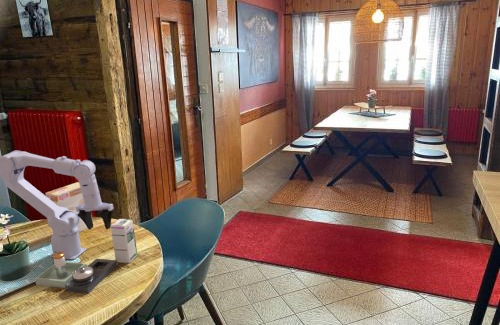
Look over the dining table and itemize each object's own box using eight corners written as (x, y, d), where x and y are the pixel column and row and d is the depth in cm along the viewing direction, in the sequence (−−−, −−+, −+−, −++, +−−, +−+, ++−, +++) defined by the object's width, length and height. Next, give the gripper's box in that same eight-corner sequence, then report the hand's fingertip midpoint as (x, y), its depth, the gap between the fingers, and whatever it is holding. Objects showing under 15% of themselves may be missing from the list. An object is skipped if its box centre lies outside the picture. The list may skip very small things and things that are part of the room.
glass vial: (54, 277, 127) (51, 256, 125) (61, 272, 130) (57, 251, 128) (62, 279, 127) (59, 257, 125) (69, 273, 130) (66, 252, 128)
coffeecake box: (83, 223, 172) (77, 181, 167) (94, 226, 168) (87, 184, 163) (52, 236, 159) (44, 192, 154) (63, 240, 156) (55, 195, 151)
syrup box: (130, 263, 136) (125, 225, 132) (115, 262, 138) (109, 224, 134) (137, 255, 142) (133, 219, 138) (123, 254, 143) (118, 218, 139)
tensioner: (65, 291, 121) (62, 274, 119) (97, 263, 137) (94, 248, 135) (88, 293, 119) (85, 276, 118) (117, 265, 135) (115, 250, 134)
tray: (36, 285, 125) (35, 278, 124) (59, 267, 135) (58, 261, 134) (66, 288, 122) (64, 281, 122) (86, 270, 133) (85, 263, 132)
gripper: (66, 198, 137) (76, 233, 140) (101, 197, 133) (110, 233, 137) (79, 191, 143) (88, 224, 147) (113, 190, 140) (121, 224, 143)
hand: (99, 228), depth 142 cm, fingers open, 7 cm apart
